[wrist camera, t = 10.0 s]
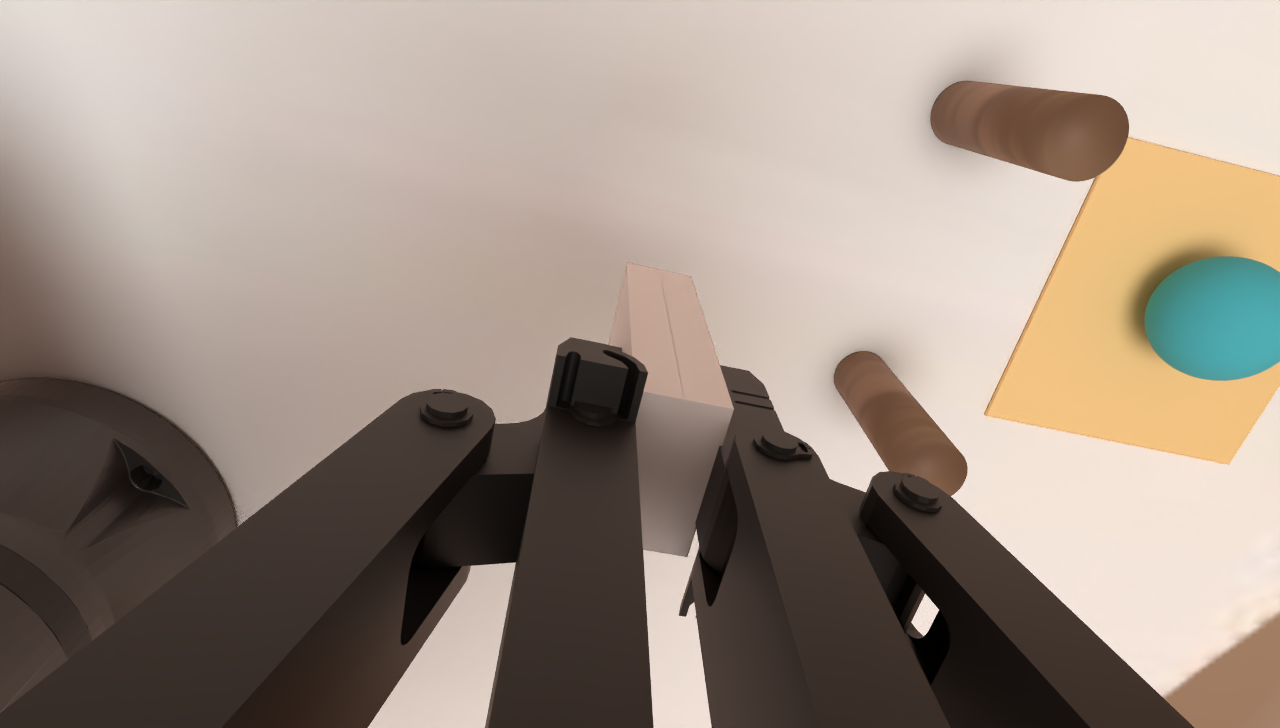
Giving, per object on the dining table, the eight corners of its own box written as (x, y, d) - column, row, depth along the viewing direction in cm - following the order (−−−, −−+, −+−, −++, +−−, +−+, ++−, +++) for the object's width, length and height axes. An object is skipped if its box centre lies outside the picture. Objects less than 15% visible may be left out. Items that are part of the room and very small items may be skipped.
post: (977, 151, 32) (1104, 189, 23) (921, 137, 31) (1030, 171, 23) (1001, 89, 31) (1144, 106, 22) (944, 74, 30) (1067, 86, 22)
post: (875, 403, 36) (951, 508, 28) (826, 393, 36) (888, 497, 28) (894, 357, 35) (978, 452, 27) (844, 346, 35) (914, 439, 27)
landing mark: (1225, 462, 39) (1228, 464, 38) (984, 414, 37) (986, 416, 37) (1390, 205, 33) (1395, 206, 33) (1116, 134, 31) (1119, 135, 31)
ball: (1279, 417, 30) (1134, 373, 32) (1237, 373, 35) (1113, 337, 36) (1359, 294, 28) (1198, 253, 29) (1303, 265, 33) (1167, 232, 34)
